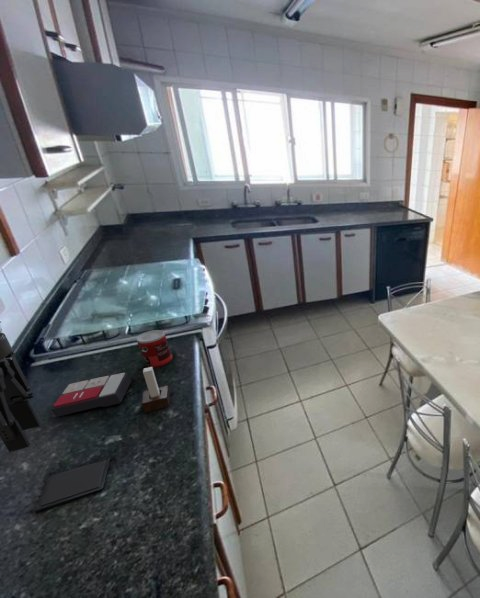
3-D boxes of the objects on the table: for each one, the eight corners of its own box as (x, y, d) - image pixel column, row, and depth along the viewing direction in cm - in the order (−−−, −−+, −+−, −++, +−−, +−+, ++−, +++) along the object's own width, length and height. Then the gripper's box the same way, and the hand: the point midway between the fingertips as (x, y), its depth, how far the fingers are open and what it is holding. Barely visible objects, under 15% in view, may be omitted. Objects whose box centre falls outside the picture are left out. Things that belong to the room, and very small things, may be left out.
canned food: (148, 358, 118) (138, 332, 113) (174, 353, 122) (165, 327, 117) (144, 370, 112) (133, 344, 107) (172, 364, 116) (162, 338, 111)
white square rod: (153, 407, 98) (142, 372, 92) (154, 403, 99) (143, 368, 94) (162, 405, 99) (151, 370, 93) (162, 401, 100) (152, 366, 95)
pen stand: (144, 414, 95) (141, 403, 93) (147, 401, 100) (143, 390, 98) (169, 407, 98) (166, 397, 96) (170, 395, 103) (167, 385, 101)
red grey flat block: (67, 382, 99) (126, 369, 104) (74, 393, 101) (132, 380, 106) (48, 407, 90) (114, 392, 95) (56, 419, 92) (120, 403, 97)
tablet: (35, 513, 69) (34, 510, 69) (50, 478, 76) (48, 475, 76) (103, 491, 74) (102, 488, 74) (111, 460, 81) (109, 457, 81)
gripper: (-23, 362, 52) (34, 465, 62) (22, 314, 66) (64, 403, 76) (-99, 375, 48) (-25, 481, 58) (-33, 320, 62) (17, 413, 72)
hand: (25, 437), depth 67 cm, fingers open, 5 cm apart
